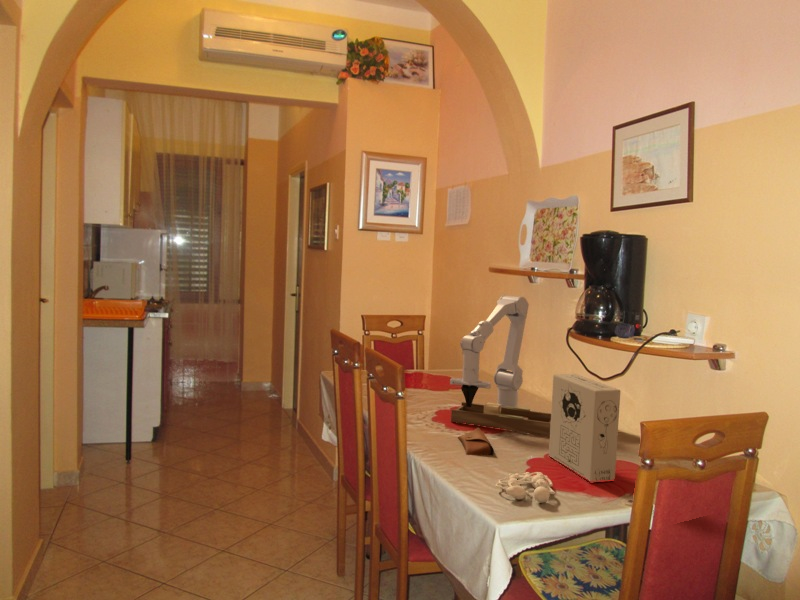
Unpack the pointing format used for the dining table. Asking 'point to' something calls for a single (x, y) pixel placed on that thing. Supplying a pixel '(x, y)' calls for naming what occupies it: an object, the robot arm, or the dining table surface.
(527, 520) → the dining table surface
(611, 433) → the cereal box
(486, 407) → the birch block
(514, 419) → the trap lane
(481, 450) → the sunglasses case
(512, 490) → the tangled rod sculpture
